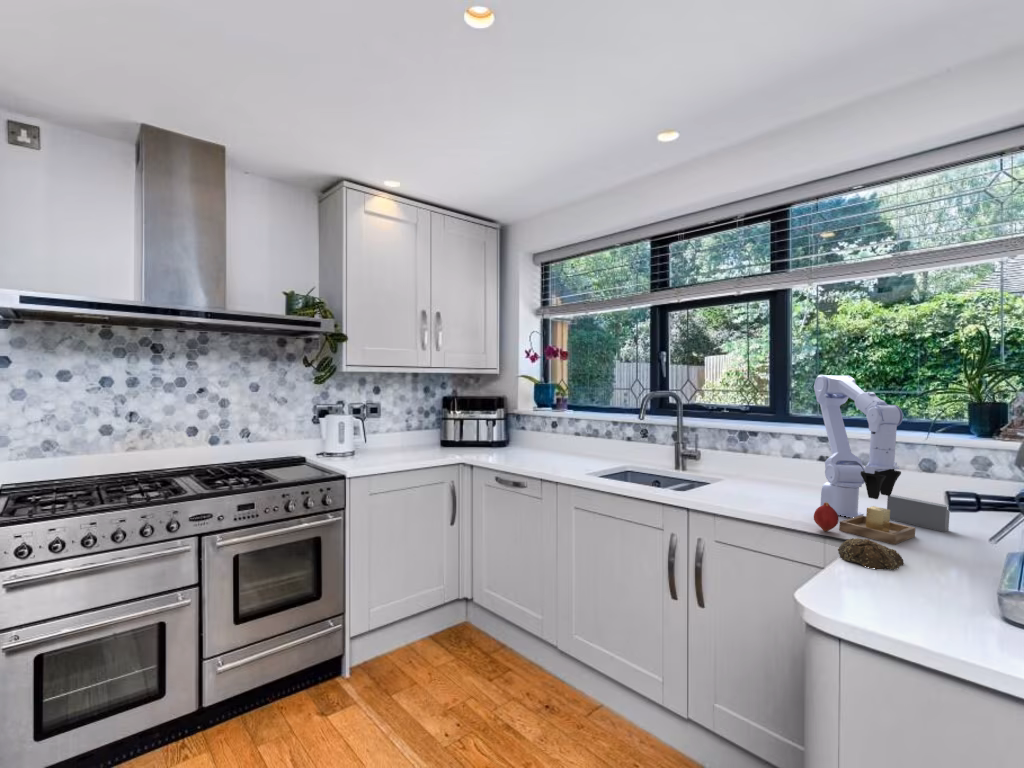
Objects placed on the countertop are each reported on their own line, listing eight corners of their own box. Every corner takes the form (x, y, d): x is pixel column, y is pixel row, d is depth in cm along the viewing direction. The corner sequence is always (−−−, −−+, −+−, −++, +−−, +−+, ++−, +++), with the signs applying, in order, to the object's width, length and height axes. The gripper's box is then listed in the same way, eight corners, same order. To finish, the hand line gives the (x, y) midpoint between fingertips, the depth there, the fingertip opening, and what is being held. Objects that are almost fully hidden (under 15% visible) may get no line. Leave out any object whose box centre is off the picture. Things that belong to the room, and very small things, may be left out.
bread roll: (845, 547, 128) (846, 527, 128) (906, 562, 119) (907, 541, 119) (829, 559, 119) (830, 538, 119) (894, 576, 110) (895, 553, 110)
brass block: (865, 529, 140) (866, 507, 139) (872, 527, 142) (873, 506, 142) (882, 533, 136) (883, 511, 136) (888, 531, 138) (890, 509, 138)
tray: (839, 530, 141) (839, 521, 141) (860, 523, 148) (861, 515, 148) (894, 544, 130) (894, 535, 130) (914, 536, 137) (915, 527, 137)
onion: (815, 526, 144) (816, 498, 144) (839, 531, 140) (840, 502, 140) (811, 531, 139) (812, 502, 139) (836, 536, 136) (837, 506, 135)
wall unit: (886, 518, 154) (887, 495, 154) (891, 517, 156) (892, 494, 156) (944, 532, 142) (946, 507, 142) (948, 530, 144) (950, 505, 144)
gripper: (887, 452, 134) (884, 503, 135) (910, 448, 142) (907, 497, 143) (857, 448, 140) (854, 497, 141) (881, 445, 148) (878, 491, 149)
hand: (879, 496), depth 142 cm, fingers open, 7 cm apart
